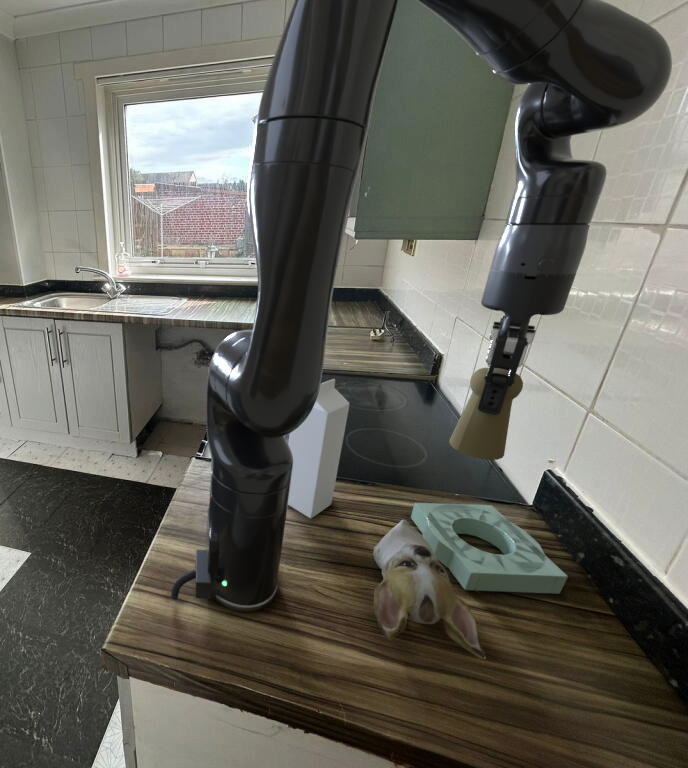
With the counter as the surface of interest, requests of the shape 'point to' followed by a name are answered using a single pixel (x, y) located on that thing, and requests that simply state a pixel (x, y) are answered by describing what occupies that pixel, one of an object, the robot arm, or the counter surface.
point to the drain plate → (482, 569)
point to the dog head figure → (419, 590)
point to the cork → (484, 421)
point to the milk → (318, 452)
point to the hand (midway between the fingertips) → (489, 404)
